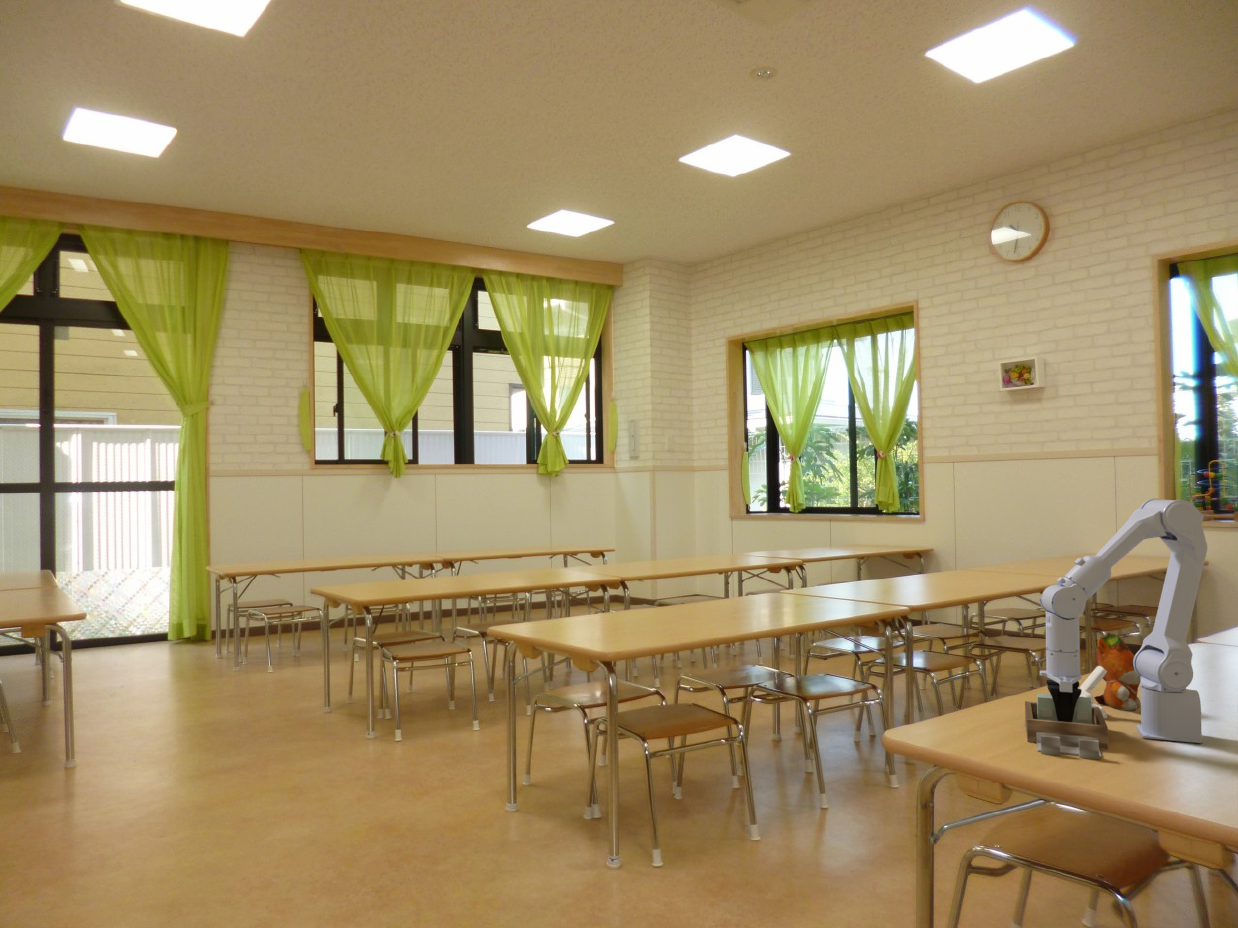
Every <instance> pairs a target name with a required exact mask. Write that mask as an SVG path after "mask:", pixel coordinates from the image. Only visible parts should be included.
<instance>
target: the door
mask: <svg viewBox="0 0 1238 928" xmlns="http://www.w3.org/2000/svg"><path fill="white" fill-rule="evenodd" d="M1036 702H1037V719H1039V720H1051V721H1058V720H1057V715H1056V710H1055V704H1054V701H1053V698H1052V696H1051V694H1050V693H1049V694H1046V693H1036ZM1072 722H1073V723H1085V724H1092V702H1091V699H1090V698H1088V697H1079V698H1078V700H1077V702H1076V705H1075V710H1074V715H1073V720H1072Z"/></svg>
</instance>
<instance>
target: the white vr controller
mask: <svg viewBox="0 0 1238 928" xmlns="http://www.w3.org/2000/svg"><path fill="white" fill-rule="evenodd" d="M1106 672H1107V671H1106V670H1105V669H1104V668H1103V667H1101V666H1097V665H1096V666H1095V668H1094V669H1093V671H1092V672H1091V673H1090V674H1089V675H1088V677H1086V679H1085V680H1084V681H1083V683H1082V684H1081V685H1079V687H1078V689H1081V690H1082V692H1081V695H1080V696H1079V697H1088V698H1090V699H1091V702H1092V707H1099V708H1100V710H1101V713H1102V715H1103V717H1104V720H1105V719H1107V718H1108V715H1107V712H1106V710H1105V708H1104V707H1103V706H1100V704H1099V705H1098V704H1095V703H1094V702H1095V699H1094V697H1093V695H1092V694H1091V693H1092V691H1093V690H1094V689H1095V688H1096V687H1097V685H1098V684H1099V683H1100V681H1102V679H1103V677H1104V676H1105V674H1106Z"/></svg>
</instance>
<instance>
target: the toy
mask: <svg viewBox="0 0 1238 928" xmlns="http://www.w3.org/2000/svg"><path fill="white" fill-rule="evenodd" d="M1096 646H1097V648H1096V652H1095V662H1096V667H1097V666H1101V667H1103V668H1104V669H1105V670H1106V671H1107V672H1106V674H1105V676H1104V677H1103V678H1102V679H1103V681H1104V682H1106V685H1105V688H1104V691H1103V693H1102V694H1101V695H1096V696H1094V697H1093V698H1094V701H1095V702H1097V705H1098V704H1099V705H1104V706H1108V707H1110V708H1113V709H1117V710H1122V711H1128V712H1136V710H1137V707H1139V706H1141V699H1140V698H1139V697H1138V693H1139V687H1140V676H1139V675H1138V674H1137V673H1136V671H1135V669H1134V666H1133V660H1134V657H1135V655H1134V654H1133V652H1132V651H1131V649H1129V647H1128V646H1127V644H1126V643H1125V642H1124V641H1123V640H1122V639H1121V637H1120V636H1118V635H1117V634H1116V633H1110V632H1107V633H1106V634H1105V635H1104V636H1103V637H1102V636H1100V637H1099V638H1098V639H1097V642H1096Z"/></svg>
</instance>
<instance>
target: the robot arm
mask: <svg viewBox="0 0 1238 928" xmlns="http://www.w3.org/2000/svg"><path fill="white" fill-rule="evenodd" d="M1203 521H1204V515H1203V514H1202V513H1201V511H1200V510H1199V509H1198V508H1197V507H1196V506H1195V504H1193V503H1192V502H1190V501H1188V500H1185V499H1175V500H1174V499H1161V498H1150V499H1147V500H1145V501H1144V502H1143V503H1142V504H1141V505H1140V507H1139V508H1136V509H1135V510H1133V511H1132V513H1131V514H1130V516H1129V518H1128V520H1127V521H1126V522H1125V523H1124V524H1123V525H1122V526H1121V527H1120V528H1119V529H1118V531H1116V533H1115V534H1114V535H1113V536H1112V537H1111V538H1110V539H1109V540H1107V541H1108V542H1106V543H1105V545H1103V547H1101V549H1100V550H1099V551H1098V552H1096V554H1095V555H1085V556H1083V557H1082V558H1081V557H1078V558H1077V559H1075V560H1074V564H1075V565H1074V566H1073V567H1072V568H1071V569H1070V570H1069V571H1068V572H1067V573H1066V574H1065V575H1064V576H1062V577H1061V576H1060V577H1058V578H1057V579H1056V583H1057V584H1052V585H1050V586H1047V587H1046V588H1044V590H1043V592H1042V594H1041V595H1042V596H1041V598H1039V599H1038V600H1039V604H1040V605H1039V606H1040V607H1041V608H1042V610H1043V611H1044V612H1045V658H1046V660H1045V662H1046V663H1045V664H1046V665H1045V666H1046V669H1045V670H1044V669H1043V670H1039V676H1041V677H1046V678H1048V679H1046V681H1045V682H1046V685H1047V690H1048V692H1049V694H1050V695H1051V696H1052V698H1053V701H1054V704H1055V710H1056V715H1057V720H1058V721H1062V722H1072V720H1073V715H1074V710H1075V705H1076V702H1077V700H1078V698H1079V696H1080V695H1081V692H1082V690H1081V689H1079V688H1080V682H1079V681H1080V680H1082V674H1081V647H1080V646H1081V641H1080V638H1081V637H1080V636H1081V635H1080V615H1081V614H1083V613H1084V612H1085V610H1086V606H1087V605H1086V604H1087V601H1088V600H1089V599H1090V598H1092V596H1093V595H1094V594H1095V593H1096V592H1097V591H1098V590H1100V589H1101V588H1102V587H1103V586H1104V584H1105V583H1107V582H1108V581H1109V580H1110V579H1111V578H1112V568H1113V567H1114V566H1115V565H1116V564H1117V563H1118V562H1119V561H1120V560H1122V559H1123V558H1124V557H1126V556H1127V554H1129V553H1130V552H1131V551H1132V550H1133V549H1134V548H1136V547H1137V546H1138V545H1139V544H1140V543H1142V542H1143V541H1144V540H1146V539H1148V540H1149V539H1153V538H1160V540H1161V541H1162V542H1163V543H1164V544H1165V545H1166V547H1167V548H1168V549H1169V551H1170V557H1169V560H1168V561H1169V562H1168V565H1167V568H1166V569H1167V570H1166V573H1165V577H1164V582H1163V586H1162V591H1161V595H1160V599H1159V603H1158V607H1157V613H1156V614H1155V615H1156V616H1155V621H1154V624H1153V629H1152V632H1151V633H1149V634H1148V635H1147V636H1146V637H1145V638H1144V639H1143V641H1142V644H1141V647H1140V649H1139V650H1138V651H1137V652H1136V653H1135V655H1134V656H1135V657H1134V660H1133V666H1134V669H1135V671H1136V673H1137V674H1138V675H1139V676H1140V684H1139V686H1140V724H1136V725H1135V726H1136V728H1137V731H1138V733H1139V734H1140V736H1141V738H1143V739H1148V740H1149V739H1150V740H1151V739H1152V740H1162V741H1172V742H1174V741H1175V742H1183V743H1193V744H1194V743H1195V744H1203V740H1202V703H1201V697H1200V693H1199V691H1198V690H1195V689H1188V687H1189V686H1190V684H1192V681H1193V678H1194V670H1193V669H1194V668H1193V665H1192V659H1193V652H1192V650H1191V648H1190V646H1189V644H1188V642H1187V638H1188V633H1189V630H1190V627H1191V626H1190V625H1191V621H1192V615H1193V613H1194V612H1193V611H1194V608H1195V604H1196V600H1197V594H1198V591H1199V586H1200V582H1201V579H1202V574H1203V569H1204V565H1205V561H1206V557H1207V553H1208V544H1207V541H1206V535H1205V532H1204V527H1203Z"/></svg>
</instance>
